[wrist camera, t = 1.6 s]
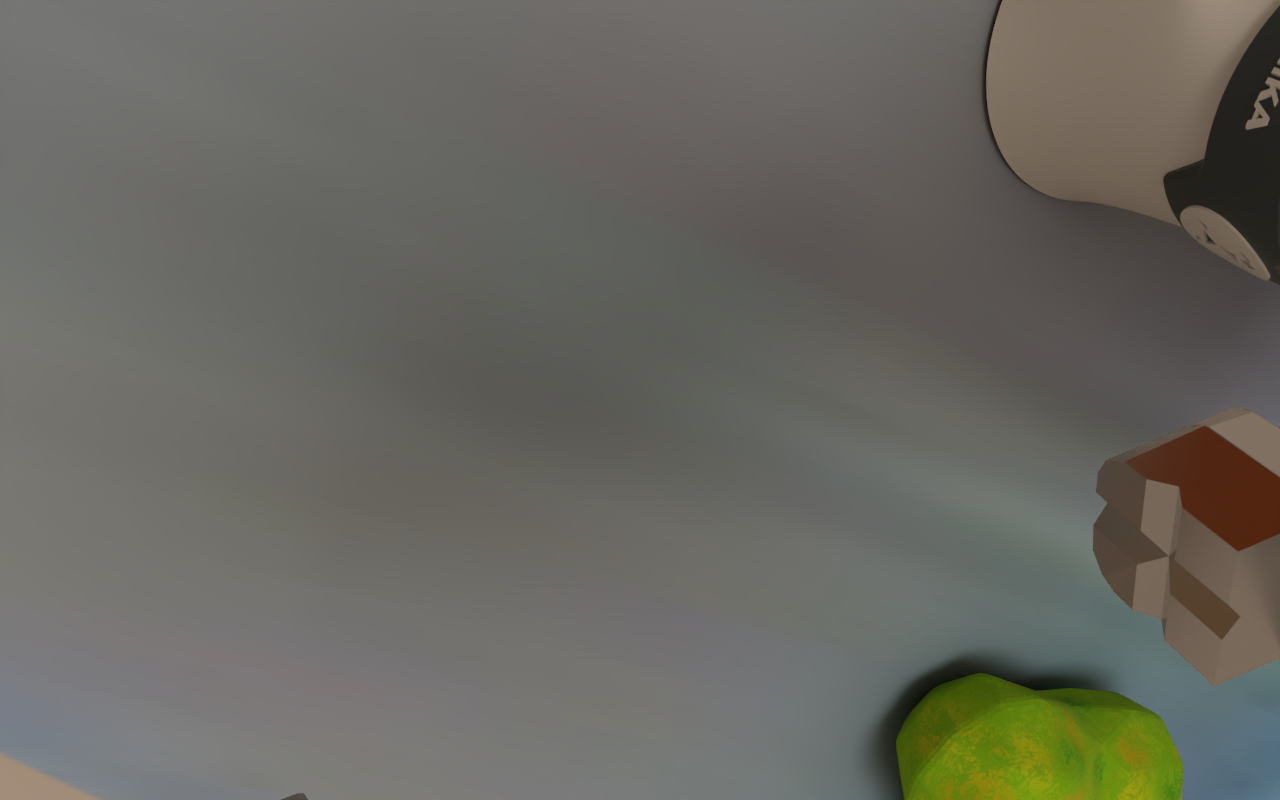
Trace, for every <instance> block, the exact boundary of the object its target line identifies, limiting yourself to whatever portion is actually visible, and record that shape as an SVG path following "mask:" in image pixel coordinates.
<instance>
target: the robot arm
mask: <svg viewBox="0 0 1280 800" xmlns="http://www.w3.org/2000/svg"><path fill="white" fill-rule="evenodd" d="M986 93H987V106H988V113H989V118H990V123H991V127H992V131H993V134H994V137H995V139H996V142H997V144H998V147H999V149H1000V151H1001V153H1002V155H1003V156H1004V158H1005V160H1006V161H1007V163H1008V164H1009V166H1010V167H1011V168H1012V169H1013V171H1014V172H1015V173H1016V174H1017V175H1018V176H1019V177H1020V178H1021V179H1022V180H1023V181H1024V182H1026V183H1027V184H1028V185H1030V186H1031V187H1033V188H1034V189H1036V190H1038V191H1039V192H1042V193H1044V194H1046V195H1048V196H1051V197H1054V198H1058V199H1063V200H1069V201H1081V202H1091V203H1098V204H1103V205H1108V206H1113V207H1118V208H1122V209H1125V210H1129V211H1132V212H1136V213H1140V214H1143V215H1146V216H1149V217H1153V218H1156V219H1159V220H1162V221H1165V222H1168V223H1171V224H1174V225H1176V226H1179V227H1182V228H1184V229H1185V230H1186V231H1187V232H1188V233H1189V234H1190V235H1191V236H1192V237H1193V238H1194V239H1195V240H1196V241H1198V242H1199V243H1200V244H1201V245H1203V246H1204V247H1206V248H1207V249H1209V250H1210V251H1212V252H1213V253H1215V254H1216V255H1218V256H1220V257H1221V258H1223V259H1225V260H1227V261H1228V262H1230V263H1232V264H1234V265H1236V266H1237V267H1239V268H1241V269H1243V270H1245V271H1247V272H1249V273H1250V274H1252V275H1254V276H1256V277H1258V278H1260V279H1263V280H1265V281H1268V280H1271V281H1273V282H1275V283H1277V284H1279V285H1280V0H1002V3H1001V6H1000V9H999V12H998V15H997V18H996V22H995V25H994V29H993V33H992V38H991V43H990V48H989V55H988V63H987V74H986ZM1096 493H1098V494H1099V495H1100V496H1101V497H1102V498H1103V499H1104V500H1105V501H1106V502H1107V505H1106V506H1105V508H1104V510H1103V511H1102V513H1101V514H1100V516H1099V517H1098V519H1097V521H1096V522H1095V524H1094V525H1093V551H1094V554H1095V557H1096V559H1097V562H1098V565H1099V567H1100V570H1101V573H1102V575H1103V577H1104V578H1105V579H1106V581H1107V582H1108V584H1109V585H1110V587H1111V588H1112V589H1113V591H1114V592H1115V593H1116V594H1117V595H1118V596H1119V597H1120V598H1121V599H1122V600H1123V601H1124V602H1125V603H1126V604H1127V605H1128V606H1129V607H1130V608H1131V609H1132V610H1134V611H1138V612H1141V613H1144V614H1147V615H1150V616H1153V617H1157V618H1160V619H1161V620H1162V627H1163V634H1164V640H1165V641H1166V642H1167V643H1168V644H1169V645H1170V646H1171V647H1172V648H1173V649H1174V650H1176V651H1177V652H1178V653H1179V654H1180V655H1181V656H1182V657H1183V658H1184V659H1185V660H1186V661H1187V662H1188V663H1189V664H1191V665H1192V666H1193V667H1194V668H1195V669H1196V670H1197V671H1198V672H1199V673H1200V674H1201V675H1202V676H1203V677H1204V678H1206V679H1207V680H1208V681H1209V682H1210V683H1211V684H1212V685H1213V686H1216V685H1218V684H1221V683H1223V682H1225V681H1228V680H1230V679H1232V678H1235V677H1237V676H1239V675H1242V674H1244V673H1247V672H1249V671H1251V670H1254V669H1256V668H1258V667H1261V666H1263V665H1265V664H1268V663H1270V662H1272V661H1275V660H1277V659H1279V658H1280V429H1279V428H1277V427H1276V426H1274V425H1273V424H1271V423H1270V422H1268V421H1266V420H1265V419H1263V418H1262V417H1260V416H1259V415H1257V414H1256V413H1254V412H1252V411H1250V410H1247V409H1242V408H1238V407H1233V408H1231V409H1229V410H1226V411H1224V412H1221V413H1219V414H1216V415H1214V416H1212V417H1209V418H1207V419H1204V420H1202V421H1200V422H1197V423H1195V424H1192V425H1191V426H1189V427H1184V428H1181V429H1179V430H1176V431H1174V432H1172V433H1169V434H1167V435H1165V436H1162V437H1160V438H1158V439H1155V440H1153V441H1151V442H1148V443H1146V444H1144V445H1141V446H1139V447H1136V448H1134V449H1132V450H1129V451H1127V452H1125V453H1122V454H1120V455H1118V456H1115V457H1113V458H1111V459H1108V460H1106V461H1105V462H1104V464H1103V465H1102V467H1101V469H1100V470H1099V472H1098V476H1097V487H1096ZM282 800H308V799H307V798H306V796H305V794H304V793H298V794H295V795H292V796H289V797H287V798H284V799H282Z"/></svg>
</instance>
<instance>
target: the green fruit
mask: <svg viewBox="0 0 1280 800" xmlns="http://www.w3.org/2000/svg"><path fill="white" fill-rule="evenodd" d="M896 750H897V757H898V763H899V770H900V776H901V783H902V789H903V796H904V800H1182V786H1183V763H1182V761H1181V758H1180V756H1179V753H1178V751H1177V749H1176V747H1175V745H1174V743H1173V741H1172V739H1171V736H1170V734H1169V732H1168V730H1167V728H1166V726H1165V724H1164V722H1163V720H1162V719H1161V717H1160V716H1158V715H1157V714H1155V713H1154V712H1152V711H1150V710H1149V709H1147V708H1145V707H1143V706H1141V705H1140V704H1138V703H1136V702H1134V701H1132V700H1131V699H1129V698H1127V697H1125V696H1122V695H1120V694H1118V693H1114V692H1108V691H1098V690H1088V689H1078V688H1062V689H1052V690H1042V691H1035V690H1032V689H1029V688H1026V687H1023V686H1020V685H1018V684H1015V683H1012V682H1009V681H1006V680H1003V679H1001V678H998V677H995V676H992V675H989V674H984V673H978V674H972V675H969V676H966V677H963V678H959V679H956V680H953V681H949V682H946V683H943V684H940V685H938V686H936V687H934V688H933V689H932V690H930V691H929V693H928V694H927V695H926V696H925V697H924V698H923V699H922V700H921V701H920V702H919V703H918V704H917V705H916V706H915V707H914V708H913V709H912V710H911V712H910V713H909V714H908V716H907V718H906V719H905V721H904V724H903V726H902V728H901V730H900V732H899V734H898V736H897V740H896Z"/></svg>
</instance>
